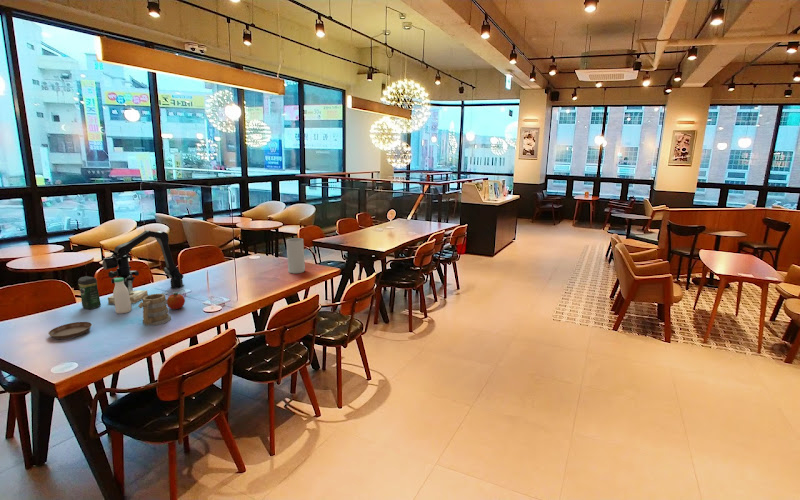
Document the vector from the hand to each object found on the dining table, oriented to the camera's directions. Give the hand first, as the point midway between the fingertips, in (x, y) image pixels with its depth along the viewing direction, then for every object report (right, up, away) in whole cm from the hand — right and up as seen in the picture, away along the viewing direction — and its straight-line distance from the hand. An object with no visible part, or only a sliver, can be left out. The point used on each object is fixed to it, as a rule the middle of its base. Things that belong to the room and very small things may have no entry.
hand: (127, 290), depth 267 cm
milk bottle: (+10, -11, -19) cm, 24 cm away
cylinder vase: (+91, +8, +62) cm, 110 cm away
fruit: (+38, -10, -14) cm, 42 cm away
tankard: (+37, -15, -37) cm, 54 cm away
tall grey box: (0, -2, 0) cm, 2 cm away
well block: (0, -6, +1) cm, 6 cm away
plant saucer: (+2, -18, -49) cm, 52 cm away
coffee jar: (-14, -9, -11) cm, 20 cm away
